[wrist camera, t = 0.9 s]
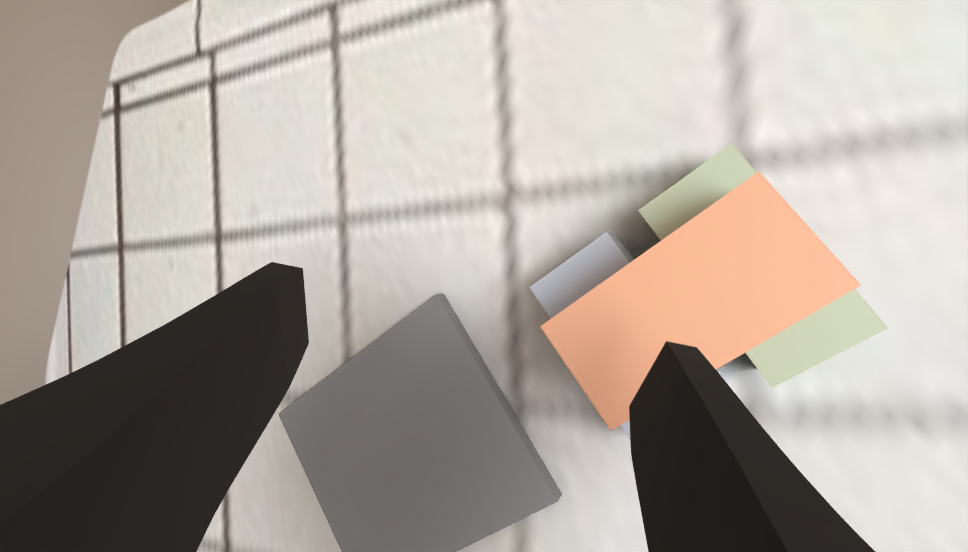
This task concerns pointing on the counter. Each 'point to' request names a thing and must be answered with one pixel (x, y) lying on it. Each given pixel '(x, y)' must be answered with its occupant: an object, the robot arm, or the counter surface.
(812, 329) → the sage brick
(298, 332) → the robot arm
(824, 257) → the terracotta brick
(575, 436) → the counter surface
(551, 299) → the blue brick
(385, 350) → the slate mat
